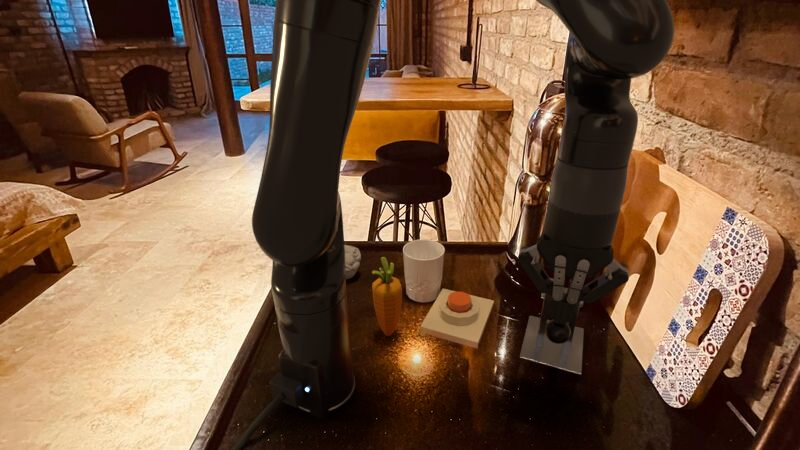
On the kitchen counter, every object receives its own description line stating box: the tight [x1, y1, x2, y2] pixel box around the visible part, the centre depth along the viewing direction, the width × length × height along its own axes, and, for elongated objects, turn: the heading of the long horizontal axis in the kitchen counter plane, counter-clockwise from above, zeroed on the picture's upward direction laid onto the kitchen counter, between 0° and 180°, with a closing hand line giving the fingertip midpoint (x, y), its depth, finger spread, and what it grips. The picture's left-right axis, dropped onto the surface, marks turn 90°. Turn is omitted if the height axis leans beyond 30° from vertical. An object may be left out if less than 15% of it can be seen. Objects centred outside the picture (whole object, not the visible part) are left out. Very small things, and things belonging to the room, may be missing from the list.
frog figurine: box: [344, 244, 362, 280], centre depth 85 cm, size 6×7×7 cm
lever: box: [545, 287, 571, 344], centre depth 58 cm, size 13×3×3 cm, turn 156°
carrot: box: [371, 256, 403, 337], centre depth 67 cm, size 5×5×15 cm
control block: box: [419, 288, 495, 349], centre depth 72 cm, size 12×10×4 cm
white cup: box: [402, 238, 446, 304], centre depth 79 cm, size 8×8×10 cm
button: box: [448, 291, 471, 313], centre depth 71 cm, size 4×4×2 cm
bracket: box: [518, 277, 585, 376], centre depth 64 cm, size 11×9×12 cm
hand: (559, 320), depth 53 cm, fingers closed
